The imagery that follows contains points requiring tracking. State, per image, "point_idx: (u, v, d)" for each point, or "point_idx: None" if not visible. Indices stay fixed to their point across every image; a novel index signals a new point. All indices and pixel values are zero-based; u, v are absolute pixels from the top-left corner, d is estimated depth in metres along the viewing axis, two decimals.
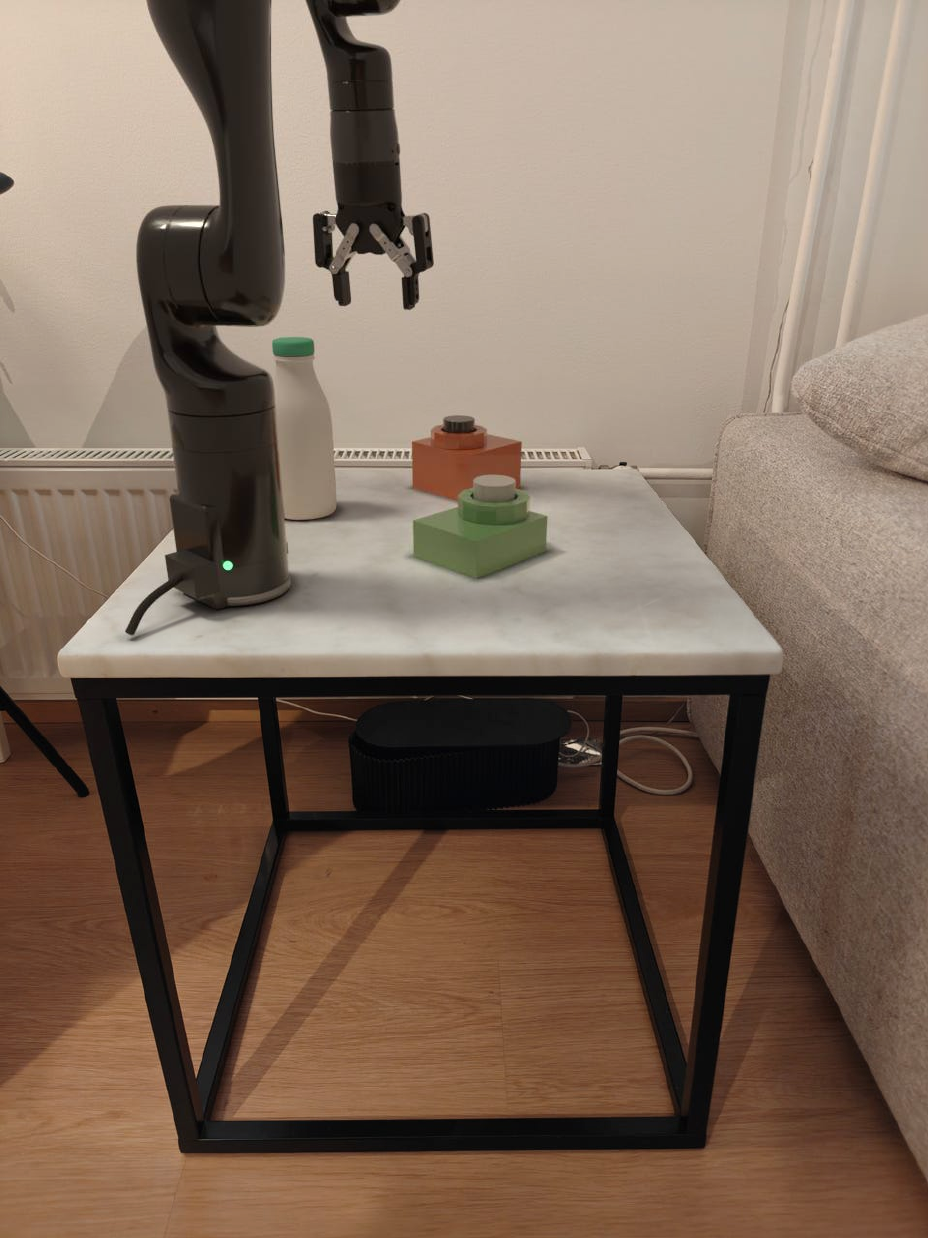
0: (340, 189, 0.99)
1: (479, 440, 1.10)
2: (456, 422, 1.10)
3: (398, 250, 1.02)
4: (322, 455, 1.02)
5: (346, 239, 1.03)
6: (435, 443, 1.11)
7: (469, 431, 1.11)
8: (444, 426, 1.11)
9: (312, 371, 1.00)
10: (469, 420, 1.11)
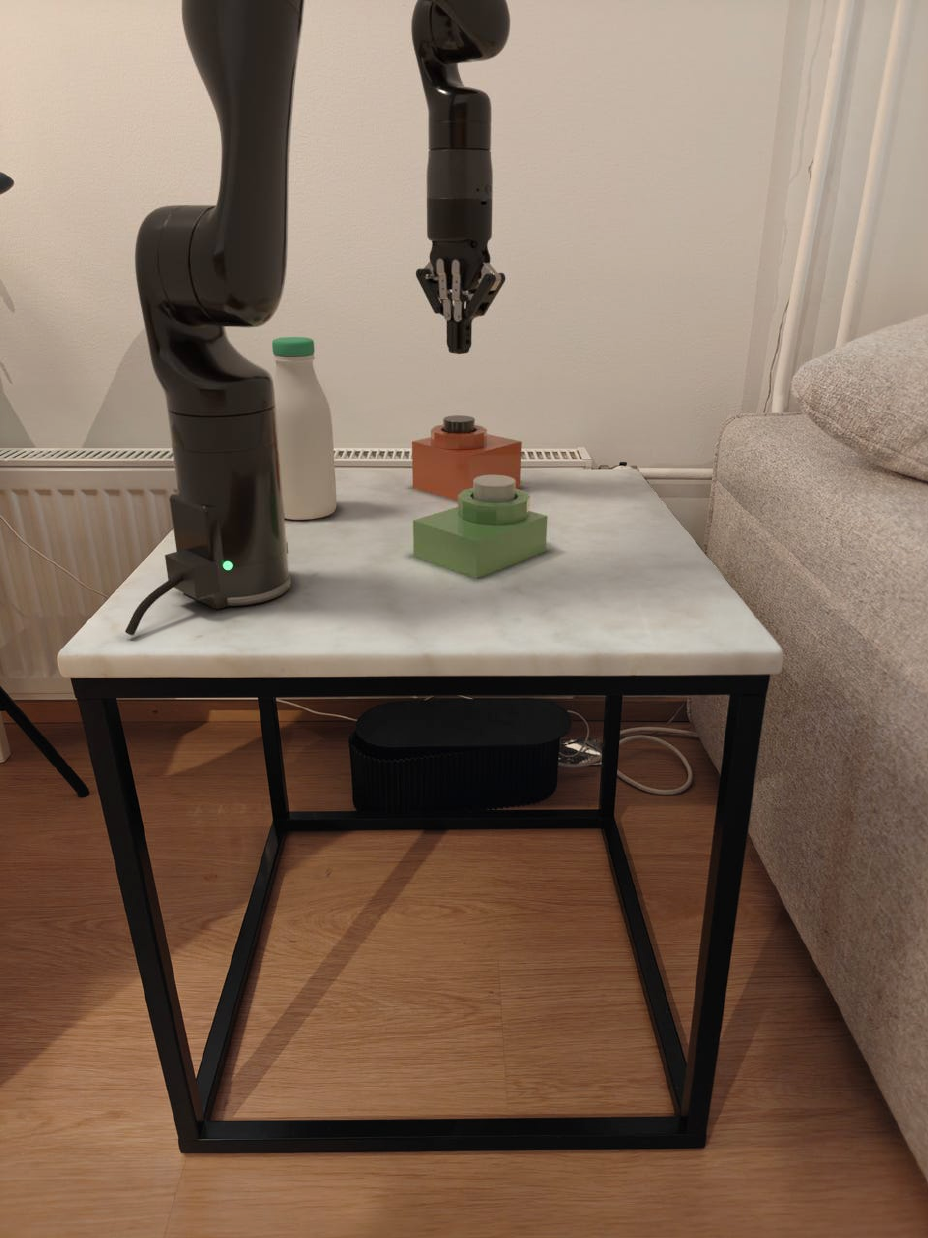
0: (428, 224, 1.01)
1: (479, 440, 1.10)
2: (456, 422, 1.10)
3: (462, 296, 1.04)
4: (322, 455, 1.02)
5: (440, 279, 1.05)
6: (435, 443, 1.11)
7: (469, 431, 1.11)
8: (444, 426, 1.11)
9: (312, 371, 1.00)
10: (469, 420, 1.11)
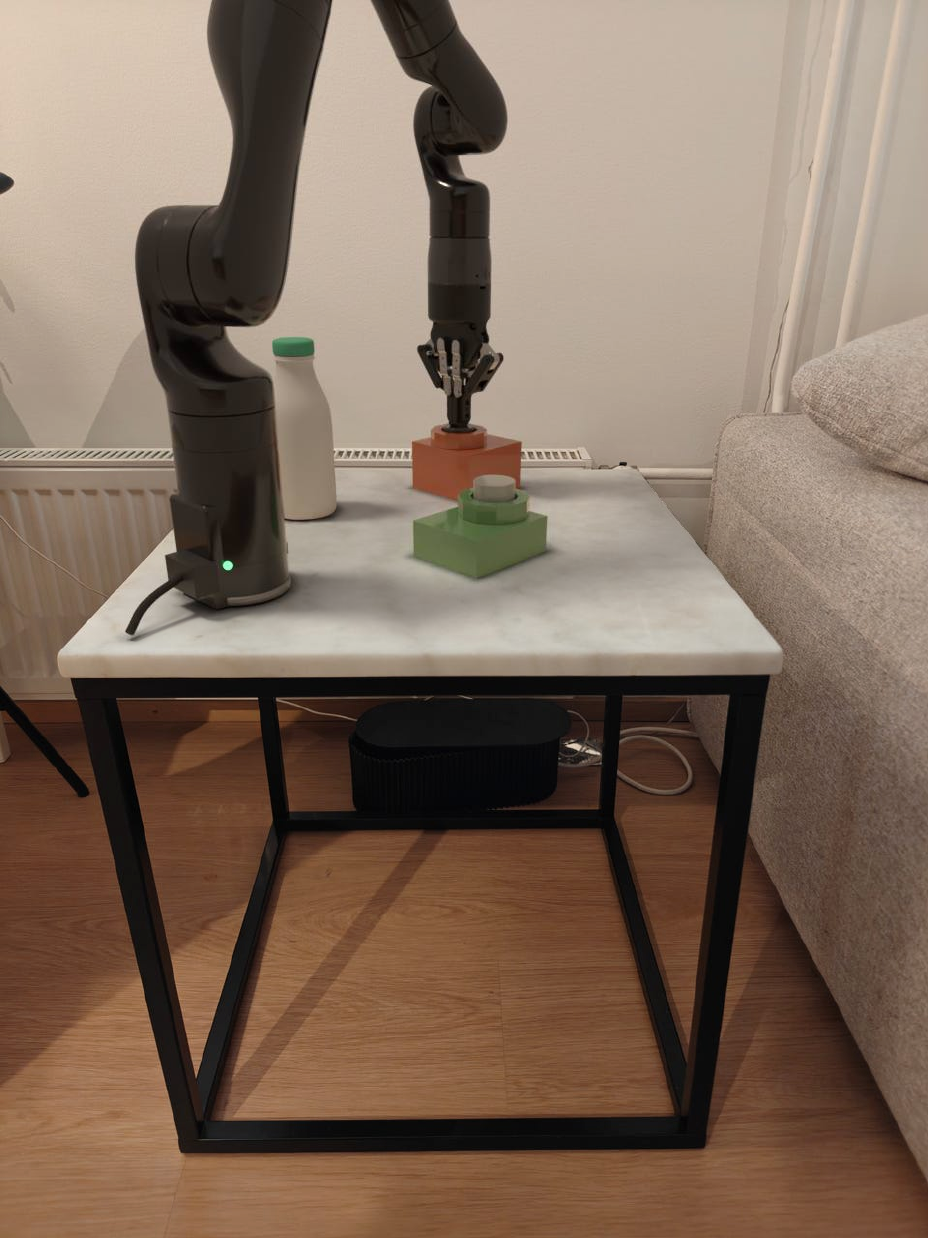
0: (428, 306, 1.05)
1: (479, 440, 1.10)
2: (456, 429, 1.10)
3: (461, 373, 1.07)
4: (322, 455, 1.02)
5: (441, 357, 1.08)
6: (435, 443, 1.11)
7: None
8: None
9: (312, 371, 1.00)
10: (469, 427, 1.11)
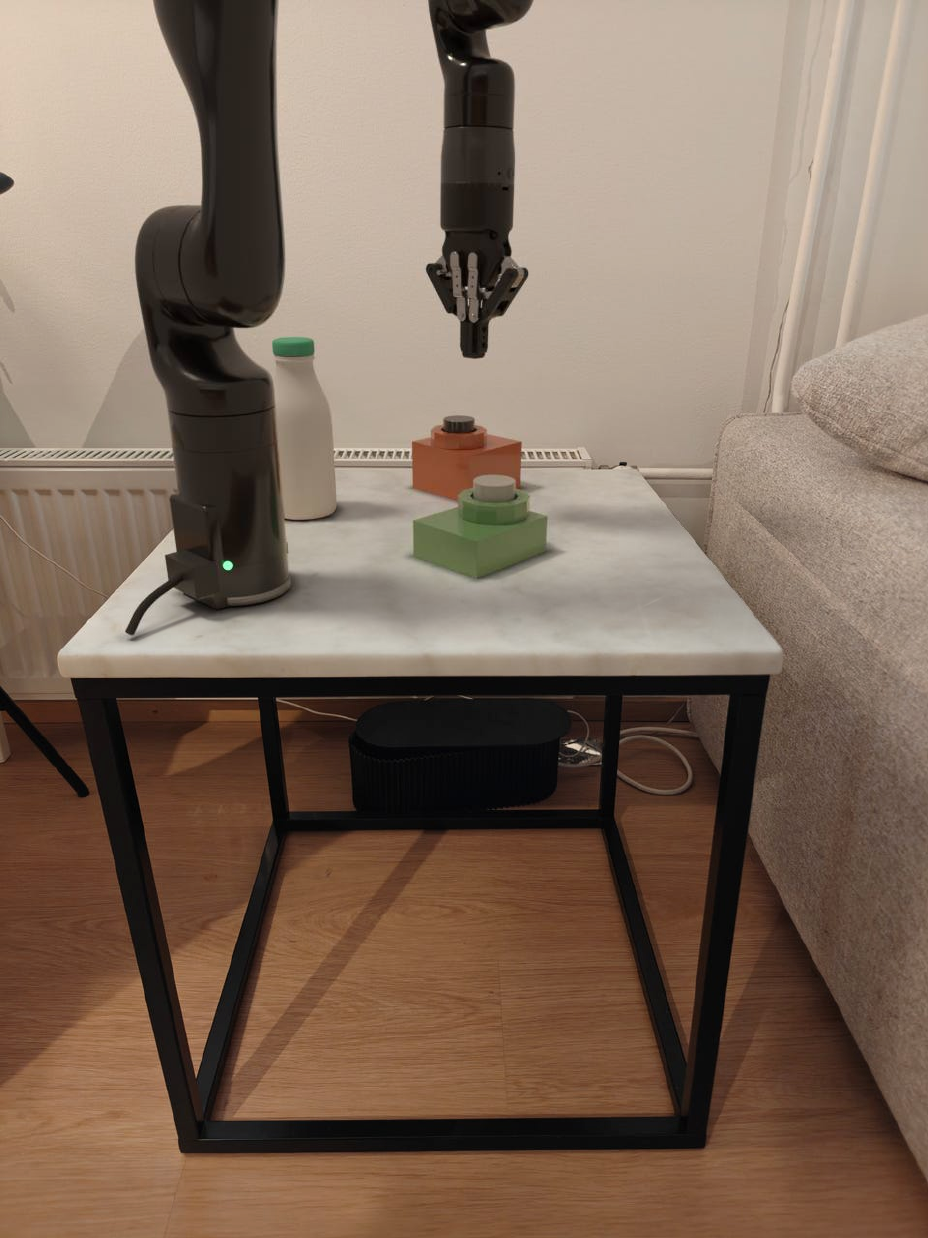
0: (441, 212, 0.90)
1: (479, 440, 1.10)
2: (456, 422, 1.10)
3: (479, 293, 0.92)
4: (322, 455, 1.02)
5: (455, 274, 0.93)
6: (435, 443, 1.11)
7: (469, 431, 1.11)
8: (444, 426, 1.11)
9: (312, 371, 1.00)
10: (469, 420, 1.11)
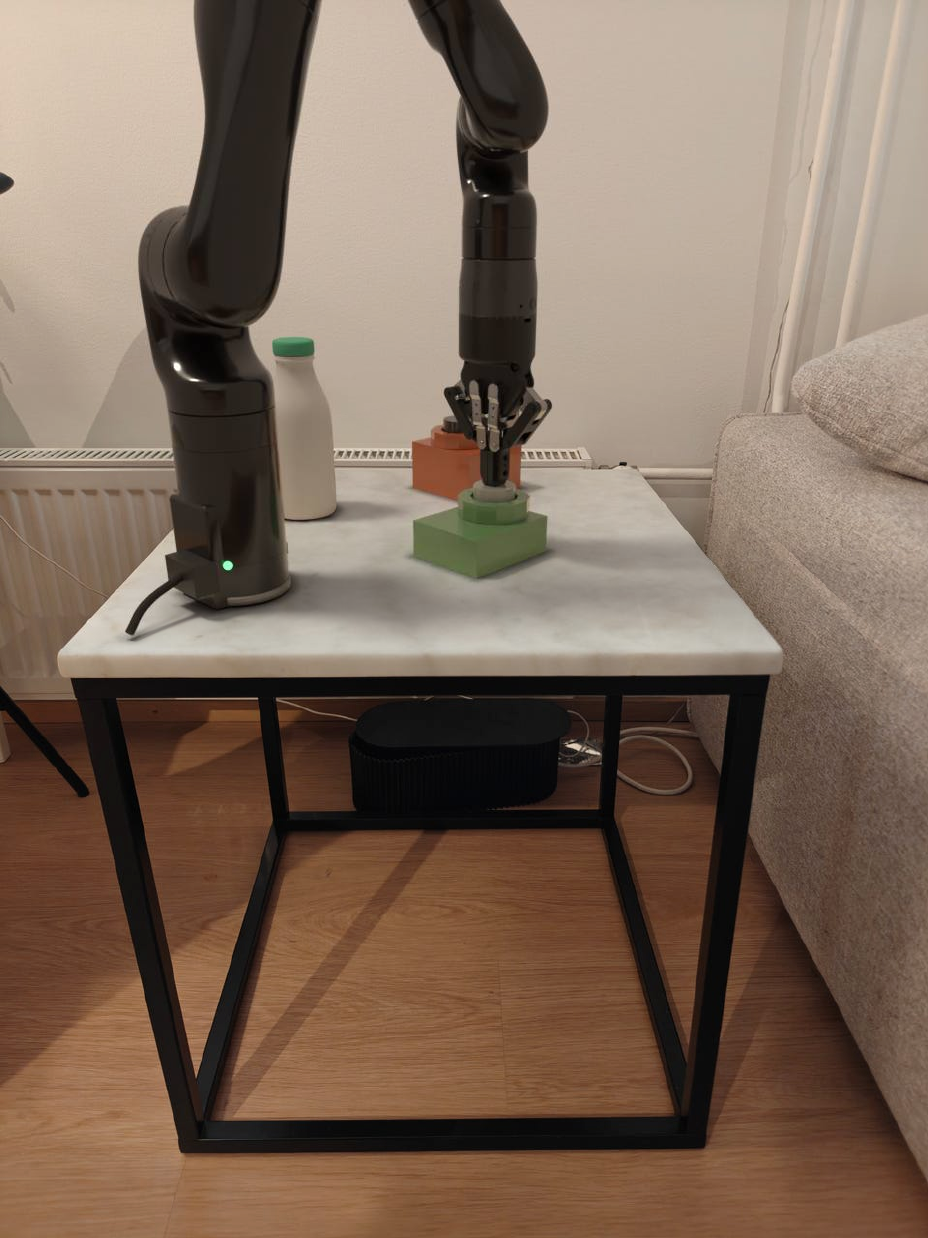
0: (460, 343, 0.86)
1: None
2: (456, 422, 1.10)
3: (500, 424, 0.88)
4: (322, 455, 1.02)
5: (474, 403, 0.89)
6: (435, 443, 1.11)
7: None
8: (444, 426, 1.11)
9: (312, 371, 1.00)
10: None
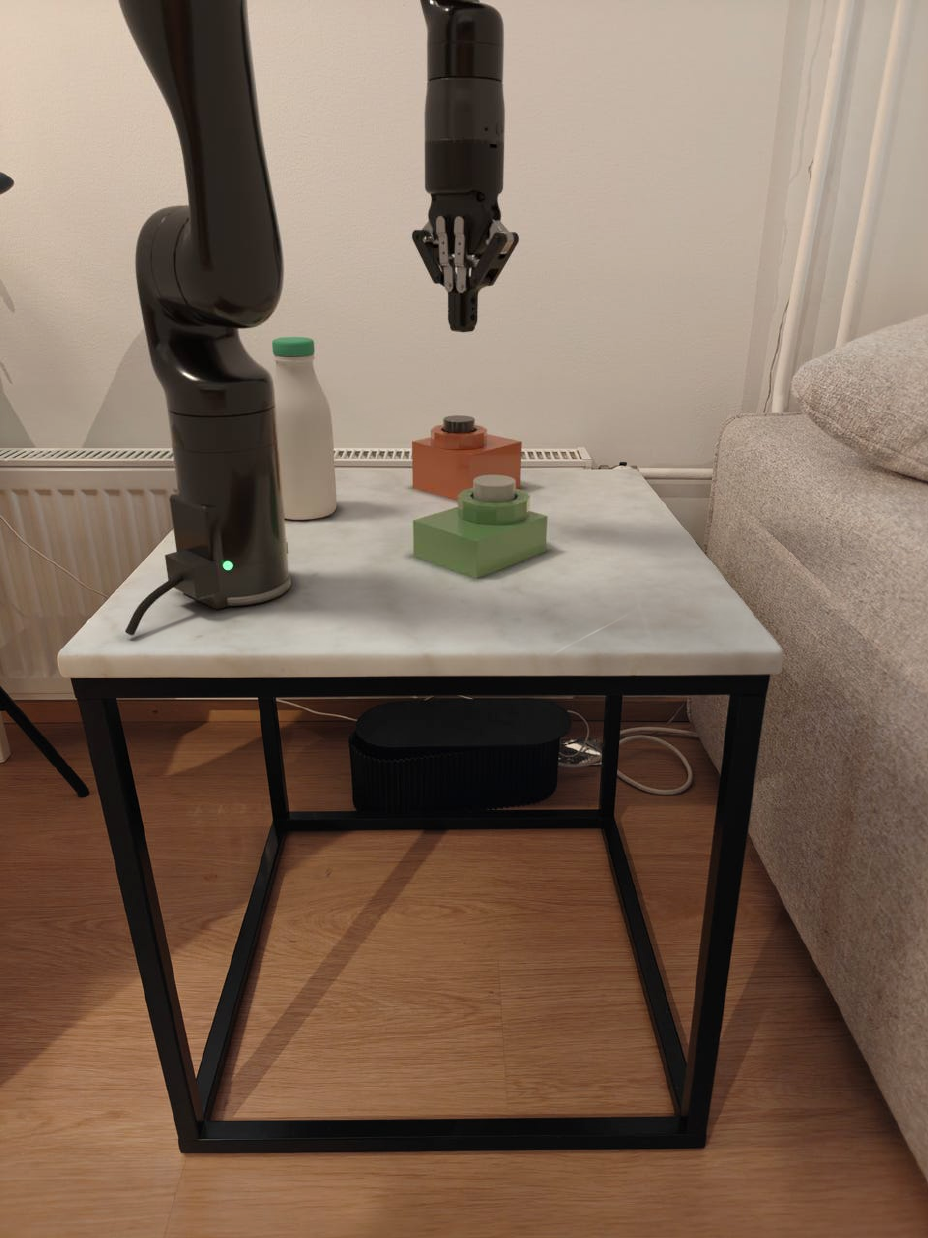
0: (425, 173, 0.84)
1: (479, 440, 1.10)
2: (456, 422, 1.10)
3: (466, 261, 0.86)
4: (322, 455, 1.02)
5: (441, 241, 0.87)
6: (435, 443, 1.11)
7: (469, 431, 1.11)
8: (444, 426, 1.11)
9: (312, 371, 1.00)
10: (469, 420, 1.11)
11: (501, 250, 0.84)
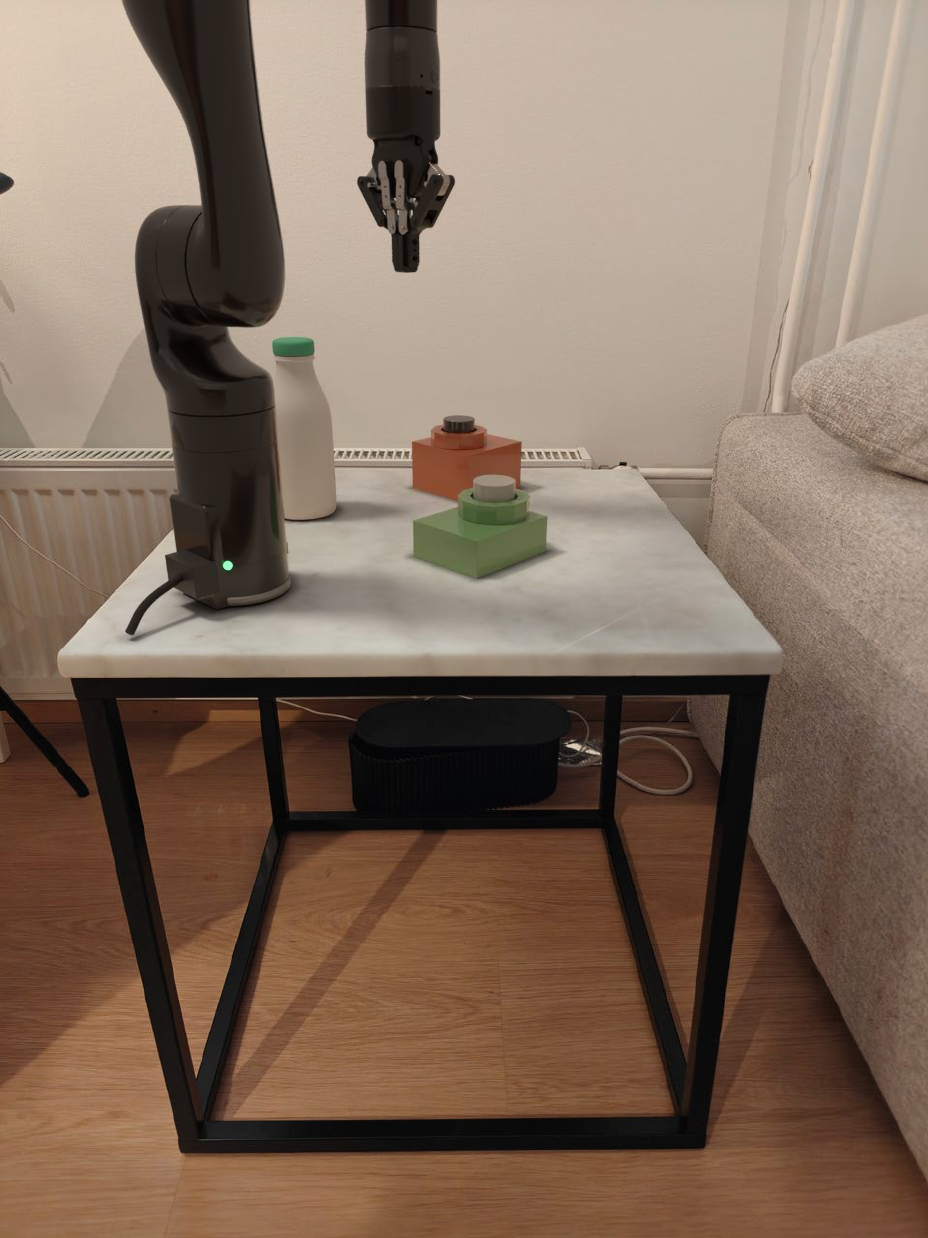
0: (367, 119, 0.89)
1: (479, 440, 1.10)
2: (456, 422, 1.10)
3: (407, 203, 0.92)
4: (322, 455, 1.02)
5: (383, 185, 0.92)
6: (435, 443, 1.11)
7: (469, 431, 1.11)
8: (444, 426, 1.11)
9: (312, 371, 1.00)
10: (469, 420, 1.11)
11: (438, 191, 0.89)
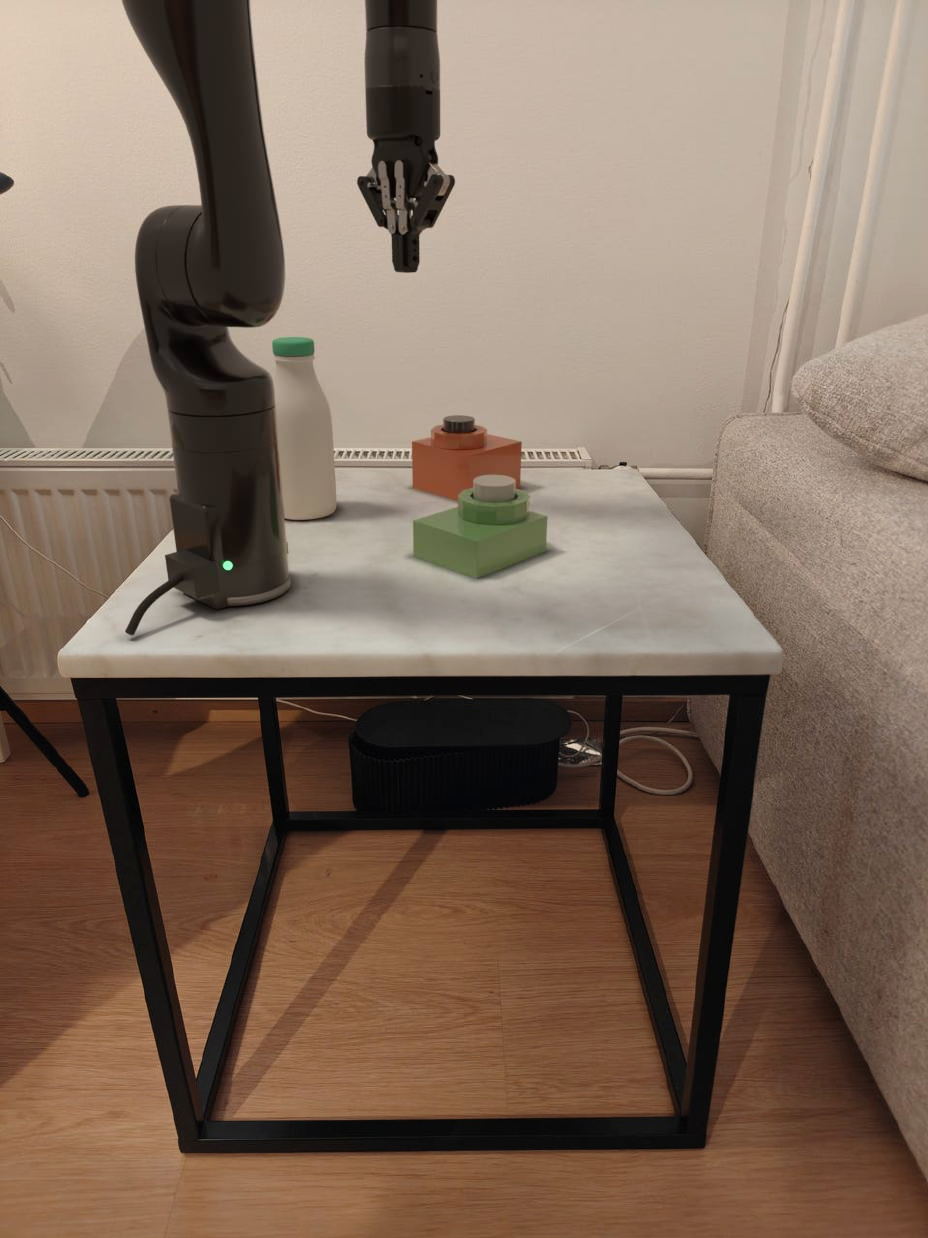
0: (367, 119, 0.89)
1: (479, 440, 1.10)
2: (456, 422, 1.10)
3: (407, 203, 0.92)
4: (322, 455, 1.02)
5: (383, 185, 0.92)
6: (435, 443, 1.11)
7: (469, 431, 1.11)
8: (444, 426, 1.11)
9: (312, 371, 1.00)
10: (469, 420, 1.11)
11: (438, 191, 0.89)
